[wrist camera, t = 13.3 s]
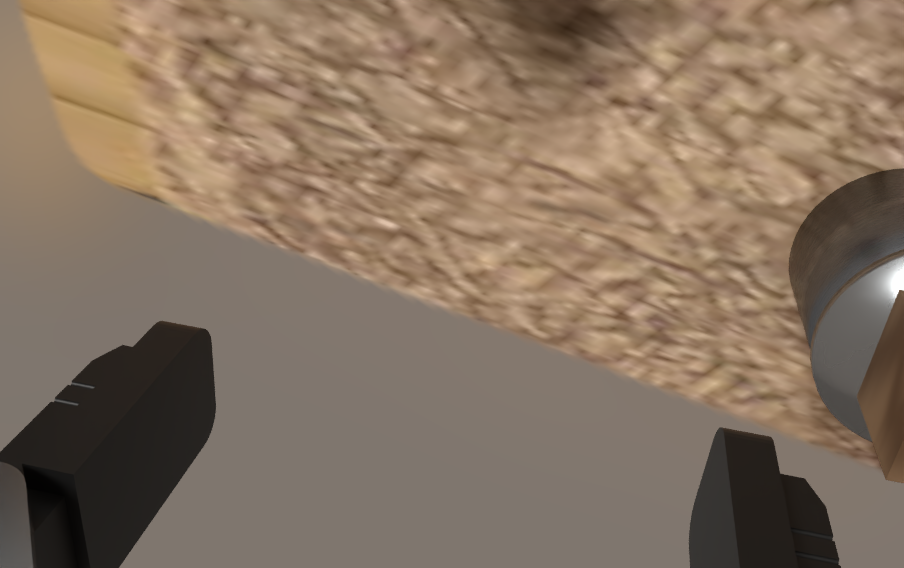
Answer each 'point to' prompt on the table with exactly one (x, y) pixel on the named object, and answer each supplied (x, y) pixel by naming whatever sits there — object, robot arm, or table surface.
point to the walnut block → (887, 395)
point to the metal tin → (849, 284)
